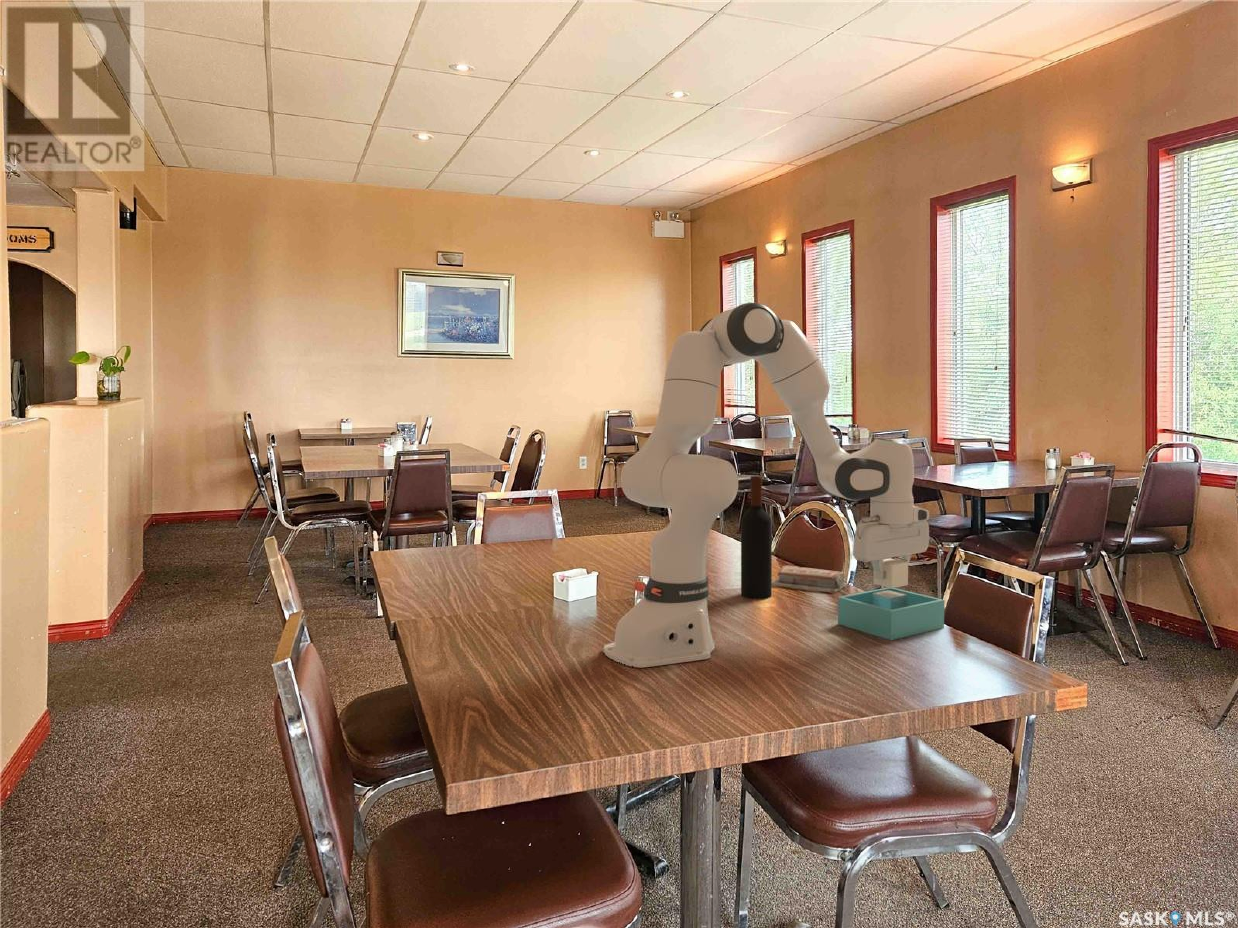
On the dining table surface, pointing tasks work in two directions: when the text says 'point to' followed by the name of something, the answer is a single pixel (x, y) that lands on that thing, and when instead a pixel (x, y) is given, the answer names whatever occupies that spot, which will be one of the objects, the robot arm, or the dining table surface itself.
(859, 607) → the box
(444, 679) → the dining table surface
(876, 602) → the steel block
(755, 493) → the wine bottle
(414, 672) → the dining table surface
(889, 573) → the cream box
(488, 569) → the dining table surface
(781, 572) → the packaged product
